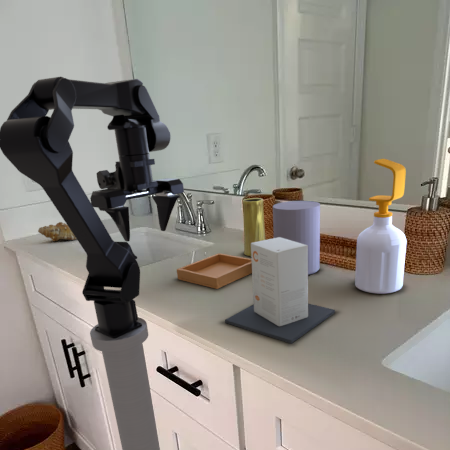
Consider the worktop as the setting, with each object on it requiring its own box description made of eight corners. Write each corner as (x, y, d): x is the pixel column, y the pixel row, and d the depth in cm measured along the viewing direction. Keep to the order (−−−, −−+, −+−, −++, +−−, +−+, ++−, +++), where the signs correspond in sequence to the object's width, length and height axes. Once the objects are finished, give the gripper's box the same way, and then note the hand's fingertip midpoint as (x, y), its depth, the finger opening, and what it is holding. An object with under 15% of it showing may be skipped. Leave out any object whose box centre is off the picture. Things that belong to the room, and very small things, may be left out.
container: (297, 260, 107) (296, 199, 101) (328, 269, 99) (330, 203, 93) (265, 269, 101) (263, 206, 96) (296, 280, 94) (295, 211, 88)
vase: (260, 257, 111) (257, 202, 106) (239, 255, 114) (236, 201, 109) (270, 251, 116) (268, 197, 110) (250, 249, 119) (248, 197, 114)
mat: (291, 343, 67) (291, 340, 67) (224, 322, 76) (224, 319, 76) (334, 312, 77) (335, 309, 76) (271, 297, 86) (271, 294, 85)
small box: (309, 317, 74) (309, 244, 69) (278, 327, 71) (276, 252, 66) (281, 303, 81) (279, 236, 76) (253, 312, 78) (249, 242, 73)
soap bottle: (368, 275, 93) (375, 157, 83) (410, 284, 86) (422, 156, 77) (346, 288, 87) (351, 162, 78) (389, 298, 81) (400, 162, 72)
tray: (217, 289, 92) (216, 278, 91) (177, 279, 100) (176, 269, 99) (258, 270, 102) (258, 260, 101) (219, 262, 110) (218, 253, 109)
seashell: (63, 253, 143) (41, 229, 138) (55, 252, 150) (34, 230, 145) (82, 235, 147) (62, 211, 142) (74, 235, 153) (54, 213, 148)
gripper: (146, 151, 92) (155, 222, 98) (67, 160, 79) (83, 242, 85) (181, 149, 85) (189, 227, 91) (100, 159, 72) (116, 249, 78)
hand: (145, 235), depth 87 cm, fingers open, 9 cm apart
